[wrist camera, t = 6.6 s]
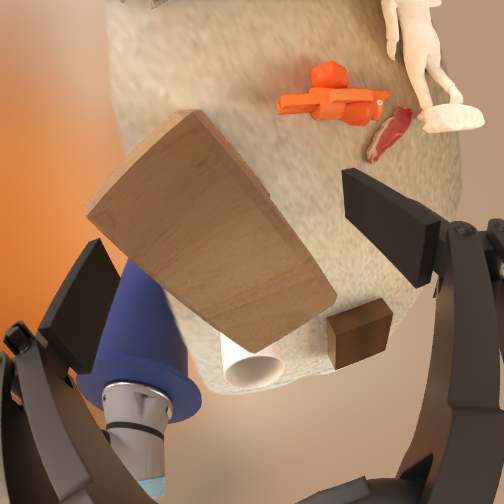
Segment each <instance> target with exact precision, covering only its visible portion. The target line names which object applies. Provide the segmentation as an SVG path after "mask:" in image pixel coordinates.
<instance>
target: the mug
mask: <svg viewBox="0 0 504 504" xmlns="http://www.w3.org/2000/svg"><path fill="white" fill-rule="evenodd" d="M220 339H221V351H222V362H223V370H224V379H225V381H226V382H227V383H228V384H229V385H231V386H232V387H235V388H238V389H246V390H250V389H259V388H263V387H266V386H269V385H271V384H273V383H279V382H280V381H281V377H282V376H283V374H284V372H285V368H286V367H285V363H284V361H283V358H282V354H281V351H280V348H279V345H278V342H277V341H276V342H274V343H273V344H271V345H269V346H268V347H266V348H264V349H263V350H261V351H259V352H257V353H256V354H253V353H250V352H248V351H246V350H245V349H243V348H242V347H240V346H239V345H238V344H236V343H235V342H233V341H232V340H231V339H229V338H228V337H226V336H225V335H224V334H222V333H221V332H220Z"/></svg>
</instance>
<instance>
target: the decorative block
mask: <svg viewBox="0 0 504 504" xmlns="http://www.w3.org/2000/svg"><path fill="white" fill-rule="evenodd" d="M85 212H86V217H87V219H89V220H90V221H91V222H92V223H93V224H94V225H95V226H96V227H97V228H98V229H99V230H100V231H101V232H102V233H103V234H104V235H105V236H106V237H107V238H108V239H109V240H110V241H111V242H112V243H113V244H114V245H116V246H117V247H118V248H119V249H120V250H121V251H122V252H123V253H124V254H125V255H126V256H127V257H129V258H130V259H131V260H132V261H133V262H134V263H135V264H136V265H138V266H139V267H140V268H141V269H142V270H143V271H144V272H146V273H147V274H148V275H149V276H150V277H151V278H152V279H154V280H155V281H156V282H157V283H158V284H160V285H161V286H162V287H163V288H164V289H166V290H167V291H168V292H169V293H170V294H172V295H173V296H174V297H175V298H177V299H178V300H179V301H180V302H181V303H183V304H184V305H185V306H187V307H188V308H189V309H190V310H192V311H193V312H194V313H196V314H197V315H198V316H199V317H201V318H202V319H203V320H205V321H206V322H207V323H209V324H210V325H211V326H213V327H214V328H215V329H217V330H218V331H220V332H221V333H222V334H224V335H225V336H226V337H228V338H229V339H231V340H232V341H233V342H235V343H236V344H238V345H239V346H240V347H242V348H243V349H245V350H246V351H248V352H250V353H253V354H256V353H257V352H259V351H261V350H263V349H264V348H266V347H268V346H269V345H271V344H273V343H274V342H276V341H278V340H279V339H281V338H282V337H284V336H286V335H287V334H289V333H291V332H292V331H294V330H295V329H297V328H298V327H300V326H302V325H303V324H305V323H306V322H308V321H309V320H311V319H312V318H314V317H315V316H317V315H318V314H320V313H321V312H323V311H324V310H326V309H327V308H329V307H330V306H332V305H333V304H334V302H335V300H336V297H337V294H336V292H335V291H334V289H333V287H332V286H331V284H330V283H329V281H328V280H327V278H326V277H325V275H324V273H323V272H322V270H321V269H320V267H319V266H318V264H317V263H316V261H315V260H314V258H313V257H312V255H311V254H310V252H309V251H308V249H307V248H306V247H305V245H304V244H303V242H302V241H301V240H300V238H299V237H298V236H297V234H296V233H295V232H294V230H293V229H292V228H291V226H290V225H289V224H288V222H287V221H286V219H285V218H284V217H283V215H282V214H281V213H280V211H279V210H278V209H277V207H276V206H275V205H274V203H273V202H272V201H271V199H270V194H269V193H268V191H267V190H266V188H265V187H264V186H263V184H262V183H261V182H260V180H259V179H258V178H257V176H256V175H255V174H254V173H253V171H252V170H251V169H250V168H249V166H248V165H247V164H246V163H245V161H244V160H243V159H242V158H241V156H240V155H239V154H238V153H237V152H236V150H235V149H234V148H233V147H232V145H231V144H230V143H229V142H228V141H227V139H226V138H225V137H224V136H223V135H222V133H221V132H220V131H219V130H218V129H217V128H216V126H215V125H214V124H213V123H212V122H211V120H210V119H209V118H208V117H207V116H206V115H205V114H204V112H203V111H202V110H185V111H176V112H175V113H174V114H173V115H172V116H170V117H169V118H168V119H167V120H166V121H165V122H164V123H162V124H161V125H160V126H159V127H158V128H157V129H156V130H155V131H154V132H152V133H151V134H150V135H149V136H148V137H147V138H146V139H145V140H144V141H143V142H142V143H141V144H140V145H139V146H138V147H137V148H136V149H135V150H134V151H133V152H132V153H131V154H130V155H129V156H128V157H127V158H126V159H125V160H124V161H123V162H122V163H121V164H120V165H119V166H118V167H117V168H116V169H115V170H114V171H113V172H112V174H111V175H110V176H109V177H108V178H107V179H106V180H105V181H104V182H103V184H102V185H101V186H100V187H99V188H98V189H97V191H96V192H95V193H94V194H93V195H92V196H91V198H90V199H89V200H88V201H87V202H86V204H85Z"/></svg>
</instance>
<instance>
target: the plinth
mask: <svg viewBox="0 0 504 504" xmlns="http://www.w3.org/2000/svg"><path fill="white" fill-rule="evenodd" d="M392 316H393V312H392V311H391V309H390V308H389V307H388V305H387V304H386V303H385V302H384V300H383V299H382V298H381V299H378V300H376V301H373V302H370V303H368V304H365V305H362V306H360V307H357V308H354V309H352V310H349V311H346V312H343V313H340V314H337V315H335V316H332V317H329V318H327V334H328V356H329V358H330V360H331V362H332V364H333V367H334V369H335V370H337V369H340V368H343V367H345V366H348V365H350V364H353V363H356V362H358V361H361V360H363V359H366V358H368V357H370V356H373V355H375V354H377V353H380V352H382V351H384V350H385V348H386V344H387V340H388V336H389V331H390V326H391V321H392Z"/></svg>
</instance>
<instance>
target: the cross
mask: <svg viewBox="0 0 504 504" xmlns="http://www.w3.org/2000/svg"><path fill="white" fill-rule="evenodd" d="M120 1H121V2H122V3H124V2H125V1H126V0H120ZM165 1H167V0H149V2H150V5H151V8H152V9H154V8H156V7H157V6H159V5H160V4H162V3H164V2H165Z"/></svg>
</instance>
